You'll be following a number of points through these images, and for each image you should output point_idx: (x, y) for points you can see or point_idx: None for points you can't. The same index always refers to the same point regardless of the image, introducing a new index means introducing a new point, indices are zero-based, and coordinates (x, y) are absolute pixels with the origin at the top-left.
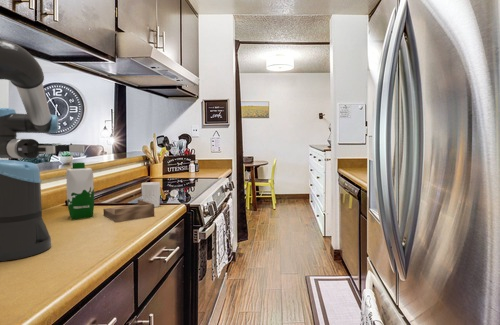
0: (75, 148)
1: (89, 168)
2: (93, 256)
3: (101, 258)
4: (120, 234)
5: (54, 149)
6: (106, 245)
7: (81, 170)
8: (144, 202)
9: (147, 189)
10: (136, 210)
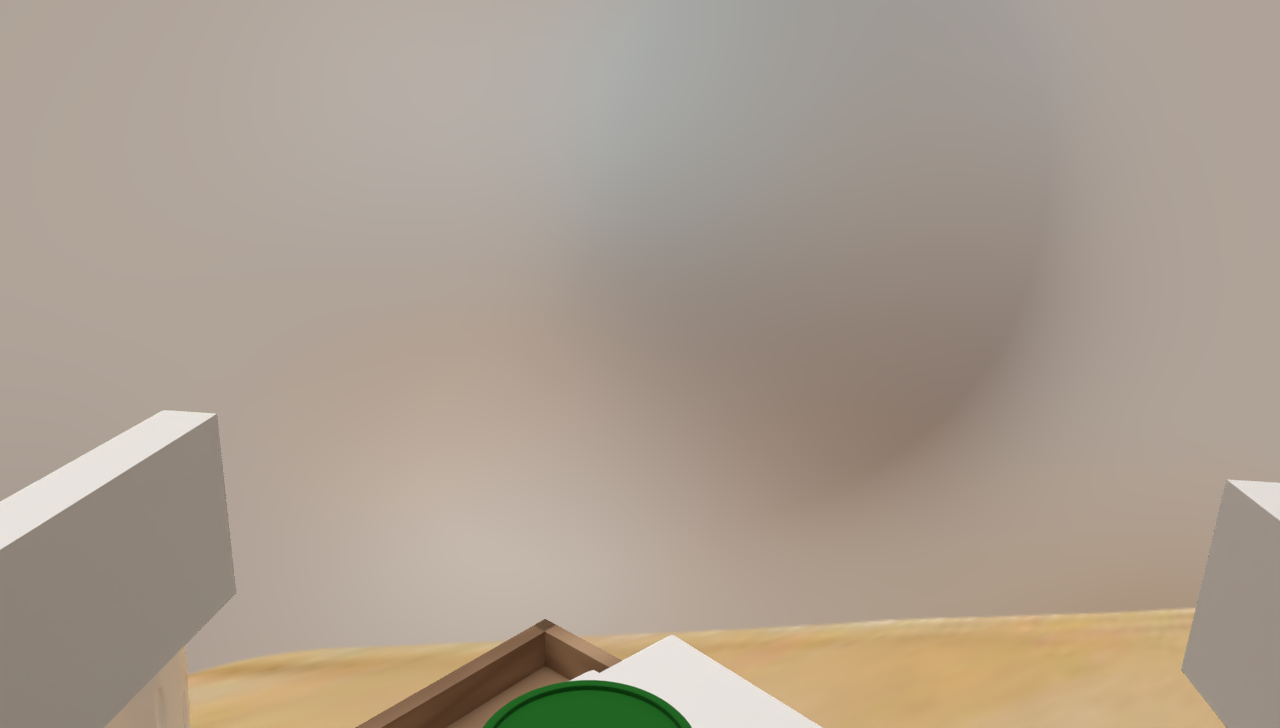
0: (36, 659)
1: (611, 680)
2: None
3: None
4: (987, 694)
5: (1228, 578)
6: (1152, 674)
7: (781, 710)
8: (443, 695)
9: (178, 673)
10: None
